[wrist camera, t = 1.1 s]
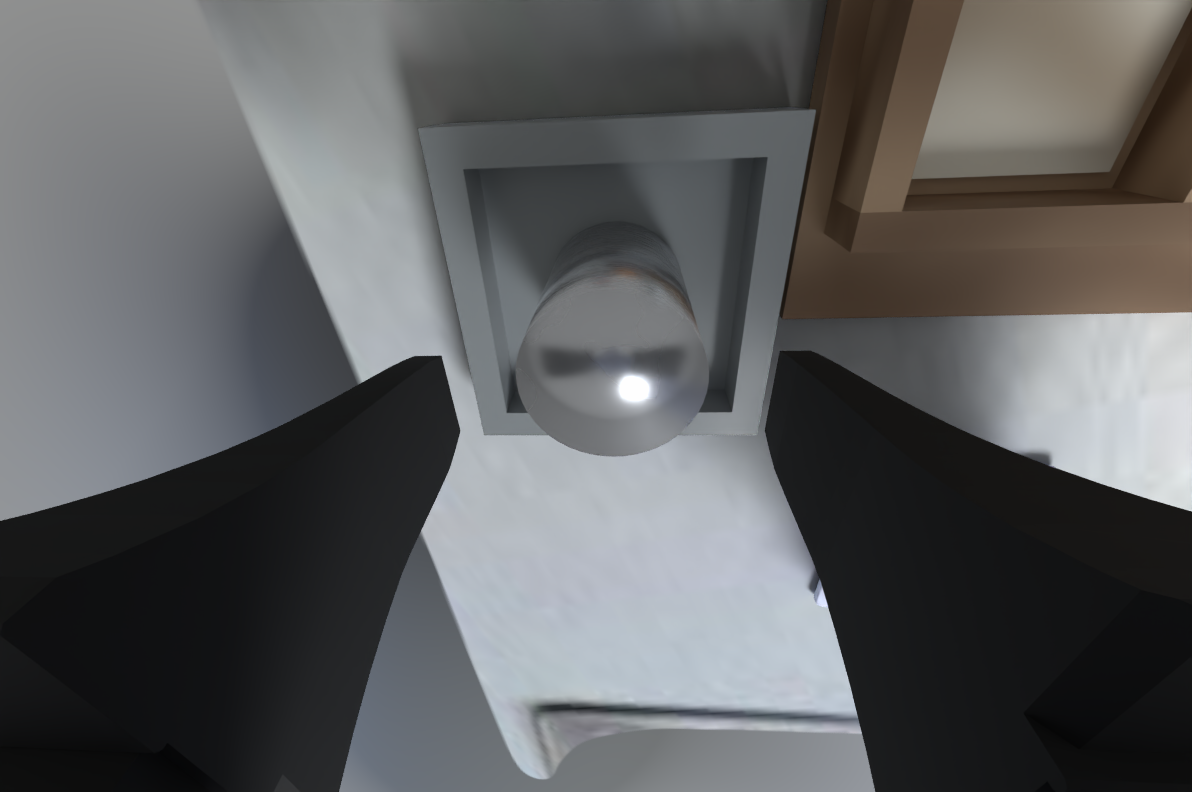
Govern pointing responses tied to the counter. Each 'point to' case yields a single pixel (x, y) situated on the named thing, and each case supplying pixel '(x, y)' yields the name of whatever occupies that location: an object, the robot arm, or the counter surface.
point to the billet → (613, 345)
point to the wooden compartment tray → (997, 160)
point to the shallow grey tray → (629, 194)
